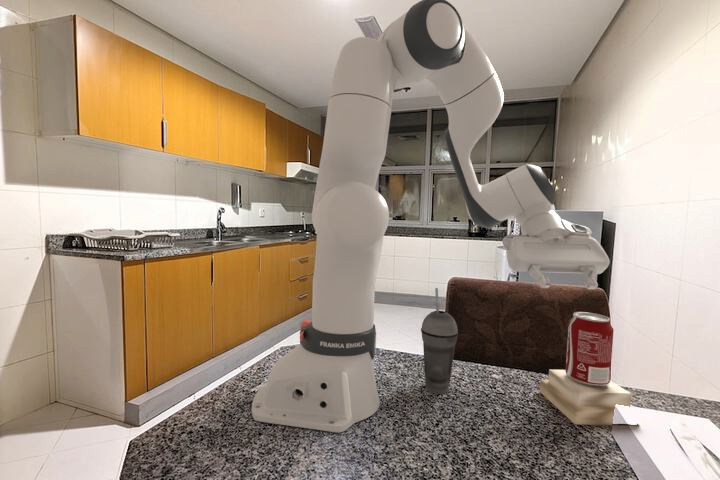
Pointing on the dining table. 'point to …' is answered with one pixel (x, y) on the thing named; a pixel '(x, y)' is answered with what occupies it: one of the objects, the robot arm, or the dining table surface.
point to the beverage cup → (438, 348)
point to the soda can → (589, 349)
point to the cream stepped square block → (583, 399)
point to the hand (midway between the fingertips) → (569, 287)
